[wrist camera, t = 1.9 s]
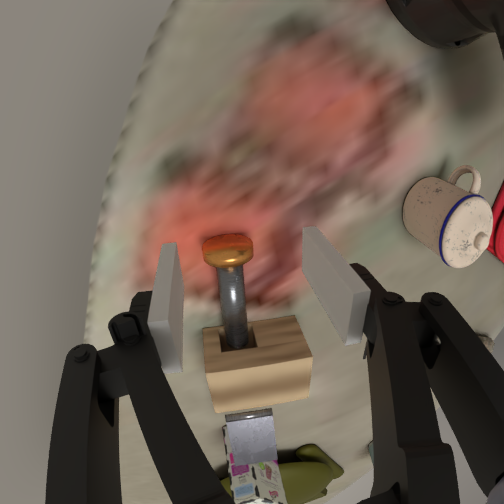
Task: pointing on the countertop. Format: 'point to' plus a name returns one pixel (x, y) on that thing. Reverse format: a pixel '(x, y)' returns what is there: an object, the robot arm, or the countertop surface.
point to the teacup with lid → (449, 217)
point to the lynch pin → (231, 282)
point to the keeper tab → (252, 436)
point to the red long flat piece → (498, 227)
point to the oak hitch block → (258, 365)
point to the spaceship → (304, 475)
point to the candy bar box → (254, 480)
